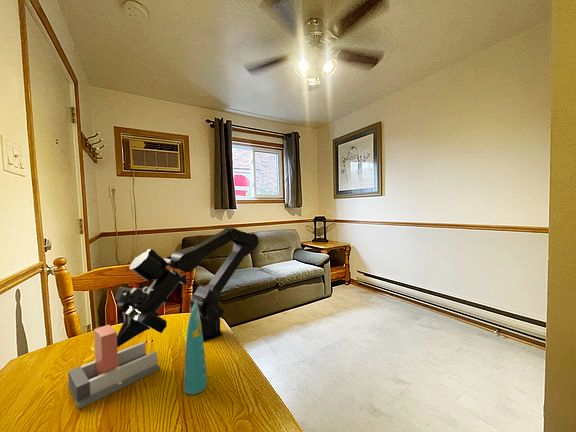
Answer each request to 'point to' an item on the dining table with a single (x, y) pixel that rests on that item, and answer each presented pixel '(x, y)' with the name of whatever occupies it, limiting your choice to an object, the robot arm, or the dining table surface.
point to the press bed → (111, 375)
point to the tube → (194, 355)
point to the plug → (105, 349)
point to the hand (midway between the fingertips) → (114, 346)
